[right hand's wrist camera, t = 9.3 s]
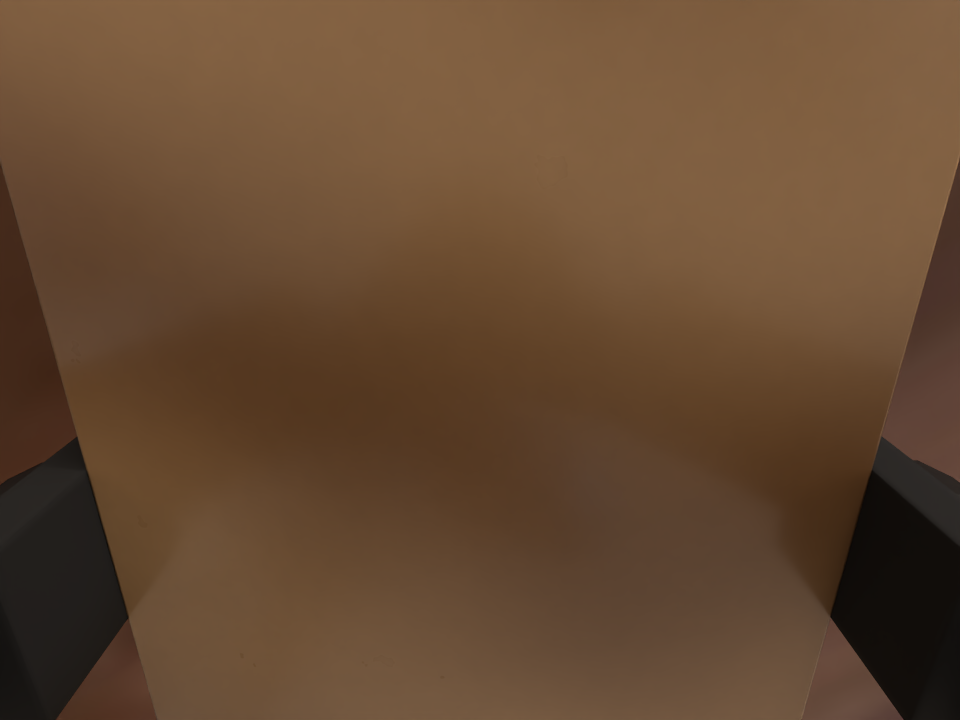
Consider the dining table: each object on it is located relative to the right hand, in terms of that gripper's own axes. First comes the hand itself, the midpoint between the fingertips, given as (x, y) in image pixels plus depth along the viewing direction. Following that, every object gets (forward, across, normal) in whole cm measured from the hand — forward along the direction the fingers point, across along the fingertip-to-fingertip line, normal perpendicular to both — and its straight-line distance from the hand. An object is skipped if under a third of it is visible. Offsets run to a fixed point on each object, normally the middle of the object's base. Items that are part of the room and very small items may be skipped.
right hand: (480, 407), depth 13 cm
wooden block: (+6, 0, -2) cm, 6 cm away
